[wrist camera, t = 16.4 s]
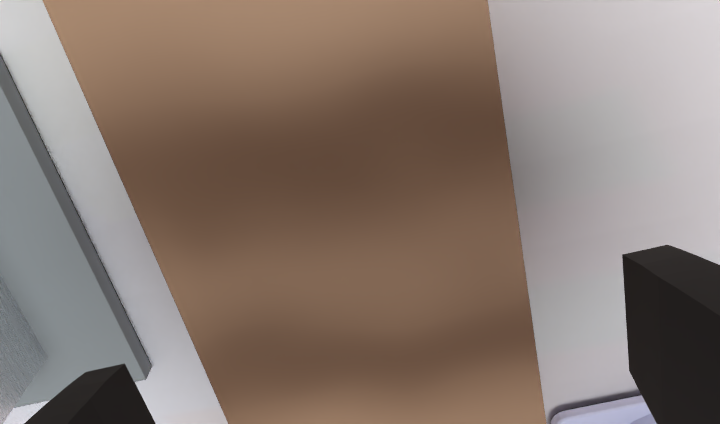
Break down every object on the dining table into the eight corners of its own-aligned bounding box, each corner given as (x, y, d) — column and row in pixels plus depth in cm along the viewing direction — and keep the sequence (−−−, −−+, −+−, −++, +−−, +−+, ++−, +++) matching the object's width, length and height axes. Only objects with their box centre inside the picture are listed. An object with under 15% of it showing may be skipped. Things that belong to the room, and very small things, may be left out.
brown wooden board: (532, 411, 20) (551, 458, 18) (274, 463, 21) (268, 514, 19) (398, -478, 11) (409, -558, 9) (-55, -338, 12) (-128, -388, 10)
